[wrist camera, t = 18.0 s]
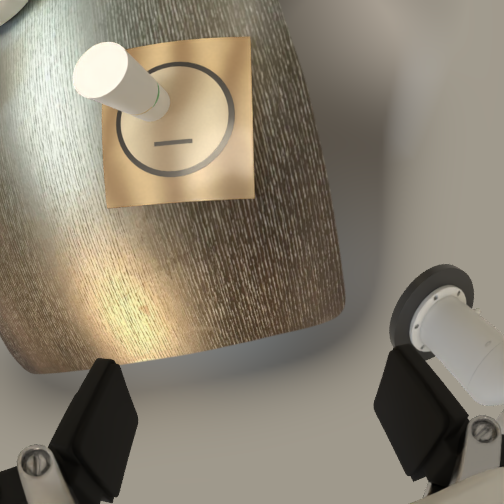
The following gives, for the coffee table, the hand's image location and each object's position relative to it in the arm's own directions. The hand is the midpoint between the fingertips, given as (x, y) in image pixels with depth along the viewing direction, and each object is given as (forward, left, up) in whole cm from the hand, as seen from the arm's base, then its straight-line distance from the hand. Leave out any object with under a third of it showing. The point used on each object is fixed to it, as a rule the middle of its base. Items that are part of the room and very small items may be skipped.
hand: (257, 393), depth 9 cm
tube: (+9, -15, -27) cm, 32 cm away
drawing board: (+7, -13, -28) cm, 31 cm away
